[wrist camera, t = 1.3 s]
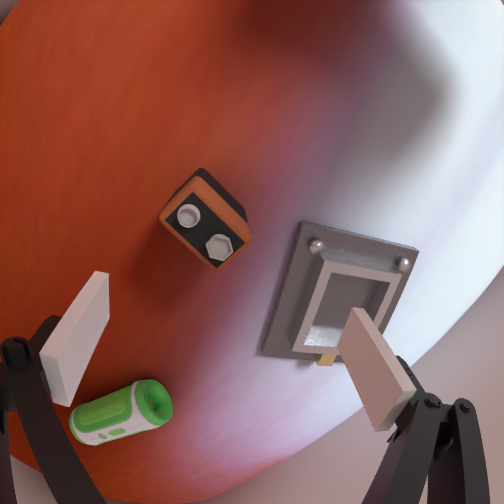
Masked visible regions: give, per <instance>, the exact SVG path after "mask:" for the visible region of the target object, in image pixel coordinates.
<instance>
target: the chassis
mask: <svg viewBox="0 0 504 504" xmlns="http://www.w3.org/2000/svg"><path fill="white" fill-rule="evenodd" d="M418 253H419V251H418V250H417V249H416V248H414V247H410V246H406V245H402V244H398V243H394V242H390V241H386V240H382V239H378V238H373V237H369V236H365V235H361V234H357V233H352V232H348V231H344V230H339V229H335V228H331V227H326V226H322V225H317V224H313V223H308V222H304V221H300V225H299V228H298V232H297V235H296V239H295V242H294V246H293V249H292V252H291V256H290V259H289V263H288V266H287V269H286V273H285V276H284V279H283V282H282V286H281V289H280V292H279V295H278V299H277V302H276V305H275V308H274V312H273V315H272V318H271V321H270V324H269V327H268V331H267V334H266V337H265V340H264V343H263V346H262V349H261V350H262V355H263V356H273V357H283V358H293V359H305V360H316V362H317V365H319V366H332V364H333V362H344V361H343V359H342V357H341V355H340V352H339V350H338V348H337V344H338V341H339V339H340V337H341V334H342V332H343V329H344V327H345V324H346V322H347V320H348V317H349V315H350V312H351V309H352V307H353V308H363V309H364V310H365V311H366V312H367V314H368V315H369V317H370V318H371V320H372V321H373V323H374V324H375V326H376V327H377V329H378V330H379V332H380V333H381V335H383V333H384V331H385V328H386V326H387V324H388V322H389V320H390V318H391V316H392V314H393V312H394V310H395V308H396V305H397V303H398V301H399V299H400V297H401V294H402V292H403V290H404V287H405V285H406V283H407V280H408V278H409V276H410V273H411V271H412V269H413V266H414V264H415V261H416V259H417V256H418Z"/></svg>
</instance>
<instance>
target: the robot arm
mask: <svg viewBox="0 0 504 504" xmlns="http://www.w3.org/2000/svg"><path fill="white" fill-rule="evenodd" d="M501 2H502V4H503V5H504V0H501ZM109 318H110V315H109V273H104V272H98V271H95V272H94V273H93V275H92V276H91V277H90V279H89V280H88V282H87V283H86V284H85V286H84V287H83V288H82V290H81V291H80V293H79V294H78V295H77V297H76V298H75V300H74V301H73V303H72V304H71V305H70V307H69V308H68V310H67V311H66V313H65V314H64V316H63V317H59V316H55V315H52V316H50V317H49V318H47V319H45V320H44V321H43V323H42V324H41V326H40V327H39V329H38V330H37V331H36V333H35V334H34V335H33V337H32V338H31V340H30V341H28V340H26V339H25V338H22V337H11V338H8V339H6V340H5V341H4V342H2V344H1V346H0V354H1V357H2V360H3V362H0V504H17V500H16V495H15V490H14V484H13V477H12V469H11V461H10V451H9V440H8V422H7V411H17V412H18V414H19V417H20V420H21V422H22V425H23V428H24V431H25V433H26V436H27V439H28V441H29V444H30V446H31V449H32V451H33V453H34V456H35V458H36V460H37V463H38V465H39V467H40V469H41V472H42V474H43V475H44V478H45V480H46V482H47V484H48V486H49V488H50V490H51V492H52V494H53V496H54V498H55V500H56V501H57V503H58V504H107V503H106V501H105V500H104V499H103V497H102V495H101V494H100V492H99V491H98V489H97V488H96V486H95V485H94V483H93V481H92V480H91V478H90V477H89V475H88V473H87V472H86V470H85V468H84V467H83V465H82V463H81V461H80V460H79V458H78V456H77V454H76V452H75V451H74V449H73V447H72V445H71V443H70V441H69V439H68V437H67V435H66V433H65V431H64V429H63V427H62V425H61V423H60V421H59V419H58V417H57V415H56V412H55V410H54V408H53V406H52V403H51V401H50V399H49V396H50V394H51V397H52V400H53V402H54V403H57V404H60V405H64V406H67V407H70V405H71V403H72V400H73V398H74V395H75V393H76V390H77V388H78V386H79V383H80V381H81V379H82V376H83V374H84V372H85V369H86V367H87V365H88V363H89V360H90V358H91V356H92V354H93V352H94V349H95V347H96V345H97V343H98V341H99V339H100V337H101V334H102V332H103V330H104V328H105V326H106V324H107V322H108V320H109ZM337 348H338V350H339V352H340V355H341V357H342V359H343V361H344V363H345V365H346V368H347V370H348V372H349V374H350V376H351V379H352V381H353V383H354V385H355V387H356V390H357V392H358V394H359V396H360V398H361V401H362V403H363V405H364V407H365V409H366V412H367V414H368V416H369V419H370V421H371V423H372V426H373V428H374V430H375V432H379V431H386V430H389V429H390V428H391V426H392V425H393V424H394V422H395V423H396V425H397V427H398V428H397V429H396V430H395V432H394V433H393V434H392V436H391V437H390V438H389V439H388V441H387V442H389V441H390V440H391V441H390V443H389V446H388V449H387V451H386V453H385V455H384V458H383V460H382V462H381V465H380V467H379V469H378V471H377V473H376V475H375V478H374V480H373V482H372V484H371V486H370V488H369V490H368V492H367V494H366V496H365V498H364V500H363V502H362V504H418V503H419V501H420V498H421V495H422V492H423V488H424V485H425V482H426V478H427V475H428V497H427V504H490V496H489V485H488V477H487V469H486V462H485V456H484V450H483V444H482V439H481V433H480V428H479V424H478V419H477V415H476V410H475V407H474V406H473V404H472V403H471V402H470V401H468V400H466V399H464V398H459V399H457V400H456V401H455V403H454V404H453V405H447V404H442V402H441V400H440V399H439V398H438V397H437V396H435V395H434V394H431V393H426V392H425V391H424V389H423V388H422V386H421V385H420V383H419V382H418V380H417V379H416V377H415V375H414V374H413V372H412V371H411V370H410V368H409V366H408V365H407V363H406V362H405V361H404V360H403V359H402V358H401V357H400V356H395V355H394V353H393V352H392V350H391V348H390V347H389V345H388V344H387V342H386V341H385V339H384V338H383V336H382V335H381V333H380V332H379V330H378V329H377V327H376V326H375V324H374V323H373V321H372V320H371V318H370V317H369V315H368V314H367V312H366V311H365V310H364V309H363V308H353V307H352V309H351V312H350V315H349V317H348V320H347V322H346V324H345V327H344V329H343V332H342V334H341V337H340V339H339V341H338V344H337Z"/></svg>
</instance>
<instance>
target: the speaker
mask: <svg viewBox="0 0 504 504" xmlns="http://www.w3.org/2000/svg"><path fill="white" fill-rule="evenodd" d="M172 414H173V405H172V401H171V398H170V396H169V394H168V392H167V391H166V389H165V388H164V387H163V386H162V385H161V384H160V383H159V382H158V381H156V380H153V379H148V380H140V381H136V382H134V383H133V384H132V385H129V386H127V387H125V388H122V389H120V390H118V391H115V392H113V393H110V394H108V395H106V396H103V397H101V398H98V399H96V400H93V401H91V402H88V403H83V404H81V405H79V406H78V407H76V408H75V409H74V410H73V411H72V413H71V414H70V417H69V426H70V429H71V431H72V433H73V435H74V436H75V437H76V438H77V439H78V440H79V441H80V442H82V443H84V444H88V445H100V444H102V443H104V442H108V441H112V440H115V439H119V438H122V437H126V436H129V435H132V434H135V433H139V432H142V431H146V430H151V429H155V428H158V427H160V426H161V425H163V424H165V423H166V422H167V421H168V420H170V419H171V417H172Z"/></svg>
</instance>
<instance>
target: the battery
mask: <svg viewBox="0 0 504 504" xmlns="http://www.w3.org/2000/svg"><path fill="white" fill-rule="evenodd" d="M159 221H160V222H161V223H162V224H163V225H164V226H165V227H166V228H167V229H168V230H169V231H170V232H171V233H172V234H173V235H174V236H175V237H176V238H177V239H179V240H180V241H181V242H182V243H183V244H184V245H185V246H186V247H187V248H188V249H189V250H190V251H192V252H193V253H194V254H195V255H196V256H197V257H198V258H199V259H200V260H201V261H203V262H204V263H205V264H206V265H207V266H208V267H209V268H210V269H212V270H213V271H215V272H218V271H220V270H221V269H222V268H223V267H224V266H226V265H227V264H228V263H229V262H230V261H231V260H232V259H233V258H235V257H236V256H237V255H238V254H239V253H240V252H241V251H242V250H244V249H245V248H246V247H247V246H248V245H249V244H250V243H251V241H252V238H251V234H250V229H249V225H248V221H247V217H246V213H245V210H244V208H243V207H242V206H241V205H240V204H239V203H238V202H237V201H236V200H235V199H234V198H233V197H232V196H231V195H230V194H229V193H228V192H227V191H226V190H225V189H224V188H223V187H222V186H221V185H220V184H219V183H218V182H217V181H216V180H215V179H214V178H213V177H212V176H211V175H210V174H209V173H208V172H207V171H206V170H205V169H203V168H199V169H198V170H197V171H196V172H195V173H194V174H193V175H192V176H191V177H190V178H189V179H188V180H187V181H186V182H185V183H184V184H183V185H182V186H181V187H180V188H179V189H178V190H177V191H176V192H175V193H174V194H173V196H172V197H171V199H170V200H169V202H168V203H167V205H166V206H165V208H164V209H163V211H162V212H161V214H160V216H159Z"/></svg>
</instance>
